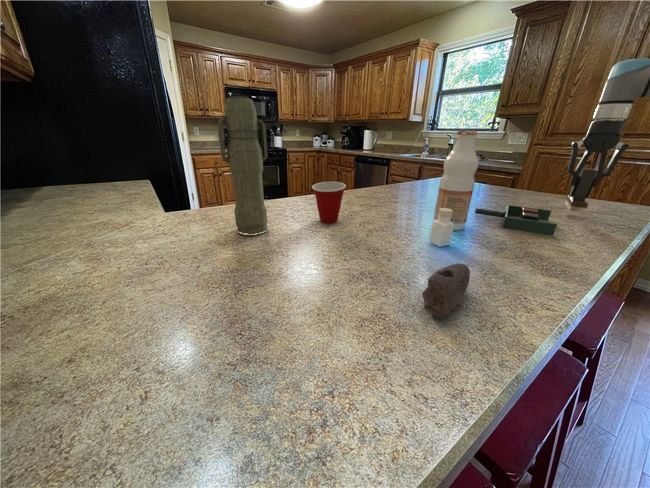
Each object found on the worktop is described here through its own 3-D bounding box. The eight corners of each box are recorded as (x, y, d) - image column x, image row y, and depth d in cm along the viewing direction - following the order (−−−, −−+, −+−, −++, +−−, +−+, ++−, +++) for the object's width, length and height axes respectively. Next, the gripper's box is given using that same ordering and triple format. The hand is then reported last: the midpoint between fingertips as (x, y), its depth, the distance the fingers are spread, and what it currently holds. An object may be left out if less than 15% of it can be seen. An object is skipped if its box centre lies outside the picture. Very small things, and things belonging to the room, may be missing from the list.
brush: (578, 204, 96) (593, 167, 91) (584, 212, 87) (601, 171, 82) (564, 203, 98) (578, 166, 93) (569, 210, 89) (584, 170, 84)
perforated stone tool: (448, 281, 54) (455, 249, 51) (476, 291, 51) (485, 258, 48) (411, 313, 44) (417, 277, 42) (442, 329, 41) (451, 290, 38)
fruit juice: (426, 223, 87) (441, 130, 76) (447, 219, 91) (464, 130, 80) (449, 232, 80) (470, 130, 69) (471, 228, 83) (494, 131, 72)
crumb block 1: (533, 220, 92) (537, 209, 90) (533, 223, 89) (537, 211, 87) (519, 218, 94) (522, 207, 92) (519, 221, 91) (523, 209, 89)
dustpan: (547, 220, 92) (551, 210, 91) (553, 235, 78) (557, 224, 77) (477, 209, 103) (479, 200, 102) (471, 221, 89) (473, 211, 88)
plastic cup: (305, 221, 88) (304, 184, 83) (326, 214, 96) (326, 180, 91) (330, 228, 82) (331, 189, 77) (351, 220, 89) (353, 184, 85)
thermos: (277, 231, 79) (269, 97, 65) (237, 239, 73) (219, 93, 59) (266, 223, 86) (256, 100, 72) (228, 230, 80) (210, 96, 66)
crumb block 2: (534, 226, 86) (538, 214, 85) (534, 229, 83) (539, 217, 82) (519, 223, 88) (523, 212, 87) (519, 227, 85) (523, 214, 84)
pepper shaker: (438, 240, 74) (445, 206, 71) (450, 245, 71) (458, 210, 67) (428, 242, 73) (434, 208, 69) (439, 247, 69) (446, 212, 66)
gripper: (641, 120, 81) (607, 197, 90) (572, 120, 89) (548, 191, 98) (651, 119, 75) (613, 202, 84) (576, 119, 83) (549, 194, 92)
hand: (578, 195), depth 91 cm, fingers closed on brush, 3 cm apart
